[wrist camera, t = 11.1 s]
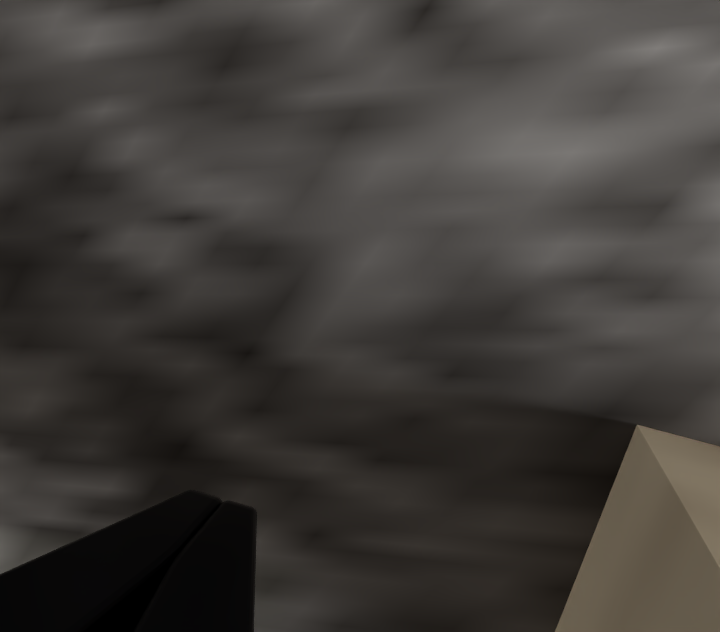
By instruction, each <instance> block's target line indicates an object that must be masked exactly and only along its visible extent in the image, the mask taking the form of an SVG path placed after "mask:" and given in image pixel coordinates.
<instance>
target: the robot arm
mask: <svg viewBox="0 0 720 632" xmlns="http://www.w3.org/2000/svg"><path fill="white" fill-rule="evenodd" d="M256 528H257V512H256V510H255V509H254V508H253V507H250V506H246V505H243V504H240V503H236V502H233V501H224V502H222V500H221V499H220V498H219V497H216V496H212V495H209V494H206V493H202V492H199V491H195V490H189V491H186V492H184V493H181V494H179V495H177V496H175V497H173V498H170V499H168V500H166V501H164V502H161V503H159V504H157V505H155V506H152V507H150V508H148V509H146V510H143V511H141V512H139V513H137V514H134V515H132V516H130V517H128V518H125V519H123V520H121V521H119V522H116V523H114V524H112V525H110V526H108V527H105V528H103V529H101V530H99V531H96V532H94V533H92V534H90V535H87V536H85V537H83V538H81V539H78V540H76V541H74V542H72V543H69V544H67V545H65V546H63V547H60V548H58V549H56V550H54V551H51V552H49V553H47V554H45V555H42V556H40V557H38V558H36V559H34V560H31V561H29V562H27V563H25V564H22V565H20V566H18V567H16V568H13V569H11V570H9V571H7V572H4V573H2V574H0V632H254V605H255V567H256Z"/></svg>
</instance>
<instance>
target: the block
mask: <svg viewBox="0 0 720 632" xmlns="http://www.w3.org/2000/svg"><path fill="white" fill-rule="evenodd" d="M555 632H720V446H716V445H712V444H709V443H705V442H701V441H697V440H693V439H690V438H686V437H682V436H678V435H674V434H671V433H667V432H663V431H659V430H656V429H652V428H648V427H644V426H640V425H637V426H636V428H635V431H634V433H633V436H632V438H631V441H630V443H629V446H628V448H627V451H626V453H625V456H624V458H623V461H622V464H621V466H620V469H619V471H618V474H617V476H616V479H615V481H614V484H613V486H612V489H611V491H610V494H609V496H608V499H607V501H606V504H605V506H604V509H603V512H602V514H601V517H600V519H599V522H598V524H597V527H596V529H595V532H594V534H593V537H592V539H591V542H590V544H589V547H588V549H587V552H586V554H585V557H584V560H583V562H582V565H581V567H580V570H579V572H578V575H577V577H576V580H575V582H574V585H573V587H572V590H571V592H570V595H569V597H568V600H567V602H566V605H565V608H564V610H563V613H562V615H561V618H560V620H559V623H558V625H557V628H556V630H555Z"/></svg>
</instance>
